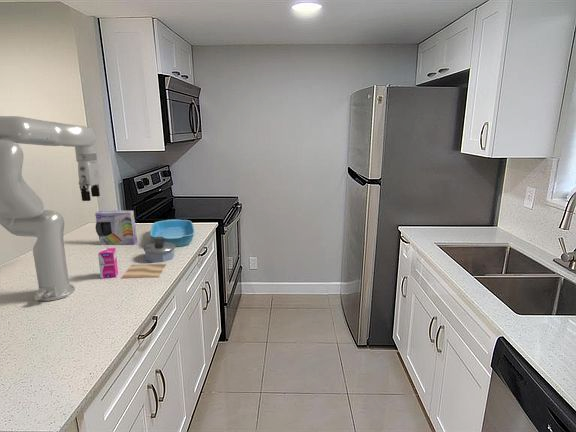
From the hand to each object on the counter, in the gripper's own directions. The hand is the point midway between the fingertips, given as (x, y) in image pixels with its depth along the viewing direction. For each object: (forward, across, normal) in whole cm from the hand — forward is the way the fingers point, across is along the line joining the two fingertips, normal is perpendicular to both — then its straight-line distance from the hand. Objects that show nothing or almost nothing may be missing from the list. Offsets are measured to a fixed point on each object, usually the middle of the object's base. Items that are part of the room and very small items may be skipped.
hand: (91, 198), depth 156 cm
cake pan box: (+31, +31, +2) cm, 44 cm away
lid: (+25, +7, -25) cm, 36 cm away
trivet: (+30, -9, -22) cm, 39 cm away
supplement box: (+31, -13, -9) cm, 34 cm away
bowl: (+30, +7, -25) cm, 40 cm away
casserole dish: (+31, +37, -25) cm, 54 cm away
